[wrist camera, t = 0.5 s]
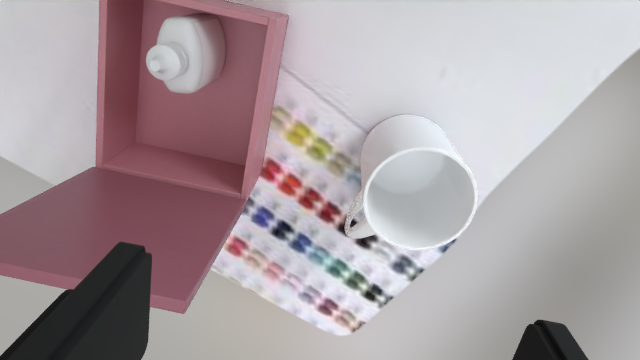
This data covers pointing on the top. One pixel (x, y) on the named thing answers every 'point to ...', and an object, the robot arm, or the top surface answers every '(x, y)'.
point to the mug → (412, 186)
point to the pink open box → (187, 98)
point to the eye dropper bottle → (188, 52)
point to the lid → (118, 232)
